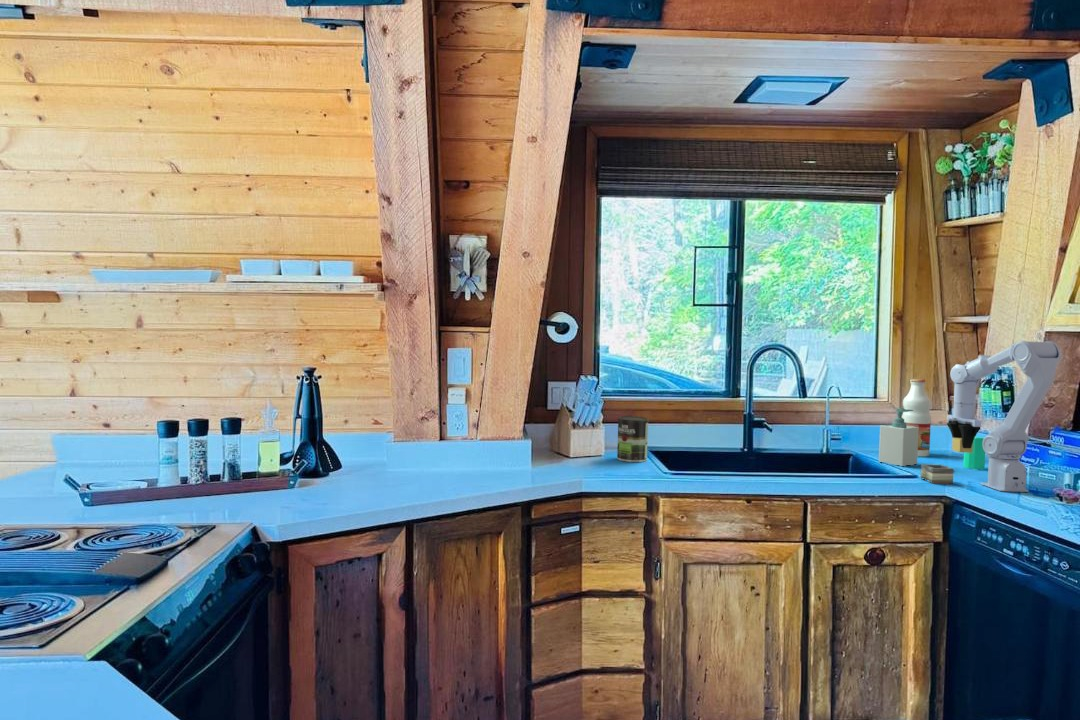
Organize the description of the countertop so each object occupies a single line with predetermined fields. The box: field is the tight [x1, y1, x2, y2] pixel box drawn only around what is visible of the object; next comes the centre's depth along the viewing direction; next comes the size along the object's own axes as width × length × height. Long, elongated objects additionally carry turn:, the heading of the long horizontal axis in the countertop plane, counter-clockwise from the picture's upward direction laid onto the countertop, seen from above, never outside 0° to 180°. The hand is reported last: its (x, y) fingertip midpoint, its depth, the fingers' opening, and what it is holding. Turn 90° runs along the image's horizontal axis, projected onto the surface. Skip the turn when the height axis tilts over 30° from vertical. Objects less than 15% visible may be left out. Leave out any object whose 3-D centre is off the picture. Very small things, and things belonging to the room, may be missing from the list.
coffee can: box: [616, 416, 650, 463], centre depth 232 cm, size 10×10×14 cm
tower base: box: [920, 463, 955, 485], centre depth 206 cm, size 6×6×4 cm
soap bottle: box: [878, 407, 919, 467], centre depth 234 cm, size 9×9×19 cm
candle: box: [962, 435, 986, 470], centre depth 228 cm, size 6×6×12 cm
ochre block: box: [951, 437, 973, 454], centre depth 213 cm, size 4×4×4 cm
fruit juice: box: [902, 378, 932, 458], centre depth 252 cm, size 9×9×28 cm
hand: (962, 446), depth 213 cm, fingers closed on ochre block, 4 cm apart
